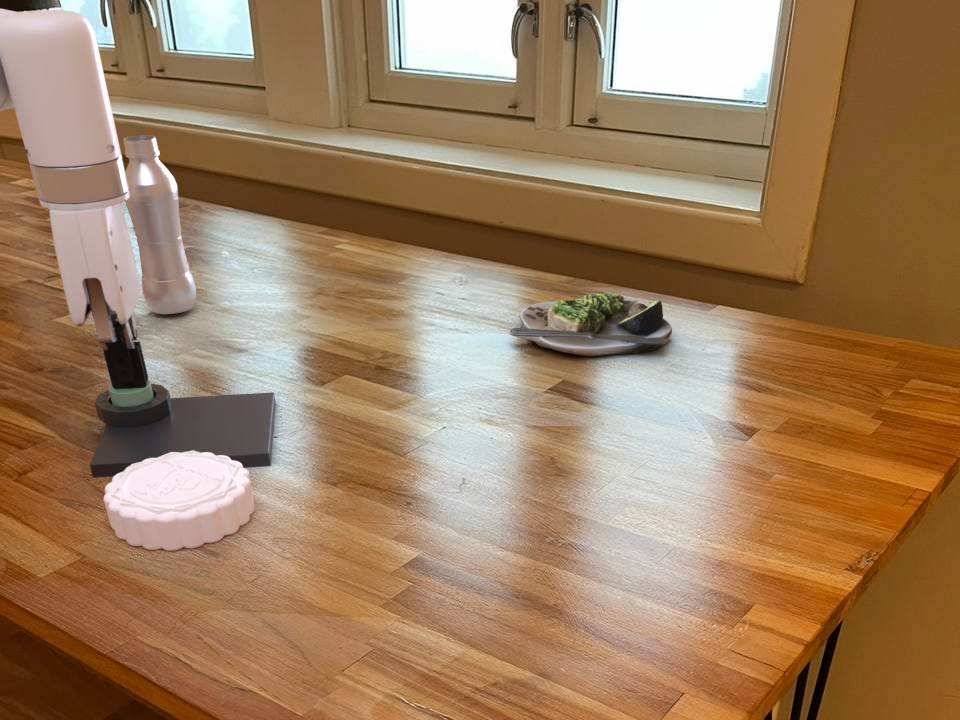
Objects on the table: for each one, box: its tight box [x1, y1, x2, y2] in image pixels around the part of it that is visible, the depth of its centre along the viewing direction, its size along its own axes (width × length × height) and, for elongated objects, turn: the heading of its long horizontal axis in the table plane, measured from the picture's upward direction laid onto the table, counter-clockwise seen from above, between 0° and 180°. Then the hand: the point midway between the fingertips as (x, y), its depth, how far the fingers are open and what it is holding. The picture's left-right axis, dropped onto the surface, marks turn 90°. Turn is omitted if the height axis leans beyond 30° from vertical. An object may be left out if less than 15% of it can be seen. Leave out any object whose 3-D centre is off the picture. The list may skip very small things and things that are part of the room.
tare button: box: [107, 379, 154, 407], centre depth 95 cm, size 4×4×2 cm
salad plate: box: [509, 292, 673, 357], centre depth 114 cm, size 19×18×5 cm
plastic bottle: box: [123, 134, 197, 315], centre depth 117 cm, size 6×7×20 cm
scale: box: [89, 383, 277, 479], centre depth 93 cm, size 17×14×3 cm
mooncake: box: [103, 450, 255, 552], centre depth 81 cm, size 12×12×4 cm
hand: (131, 384), depth 94 cm, fingers closed
